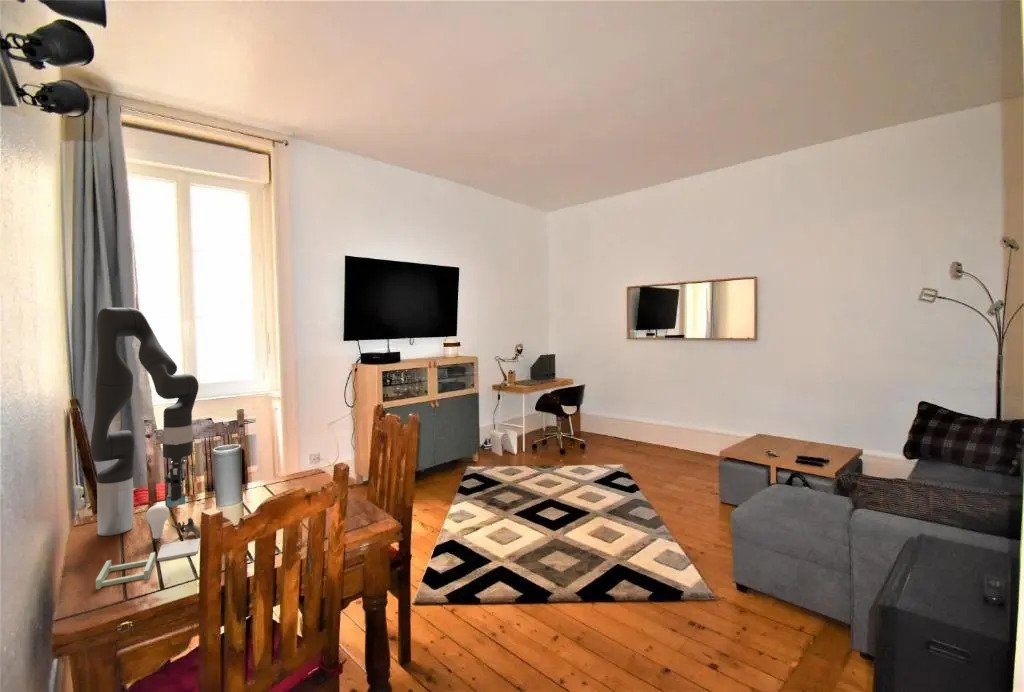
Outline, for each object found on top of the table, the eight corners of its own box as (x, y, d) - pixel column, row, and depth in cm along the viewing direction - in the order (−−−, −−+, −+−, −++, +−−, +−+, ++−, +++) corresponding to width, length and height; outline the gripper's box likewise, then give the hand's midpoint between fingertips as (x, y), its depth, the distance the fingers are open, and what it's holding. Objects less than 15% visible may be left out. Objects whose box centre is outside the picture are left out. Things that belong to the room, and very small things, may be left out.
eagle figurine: (166, 537, 151) (189, 535, 149) (174, 514, 155) (196, 512, 153) (186, 542, 157) (208, 540, 155) (193, 519, 161) (215, 517, 159)
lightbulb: (156, 543, 149) (156, 509, 149) (140, 541, 150) (140, 507, 150) (174, 535, 155) (173, 502, 155) (158, 533, 156) (158, 500, 156)
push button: (189, 499, 149) (188, 468, 148) (193, 504, 145) (193, 471, 145) (163, 505, 144) (162, 472, 144) (166, 509, 140) (166, 476, 140)
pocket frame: (106, 569, 133) (106, 560, 133) (155, 560, 139) (155, 552, 139) (95, 589, 123) (95, 580, 123) (148, 579, 128) (148, 570, 128)
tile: (161, 547, 147) (161, 544, 147) (200, 540, 152) (200, 538, 152) (156, 561, 138) (156, 558, 138) (197, 553, 143) (197, 551, 143)
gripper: (166, 436, 148) (166, 490, 149) (158, 446, 136) (159, 505, 136) (194, 434, 152) (195, 487, 152) (190, 444, 139) (190, 501, 140)
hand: (178, 495), depth 144 cm, fingers closed on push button, 4 cm apart
